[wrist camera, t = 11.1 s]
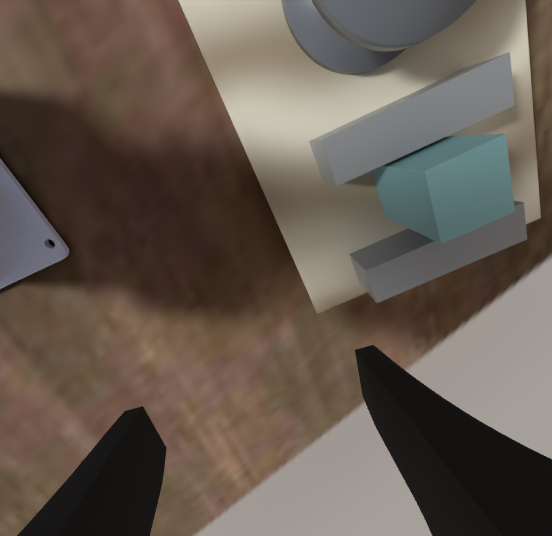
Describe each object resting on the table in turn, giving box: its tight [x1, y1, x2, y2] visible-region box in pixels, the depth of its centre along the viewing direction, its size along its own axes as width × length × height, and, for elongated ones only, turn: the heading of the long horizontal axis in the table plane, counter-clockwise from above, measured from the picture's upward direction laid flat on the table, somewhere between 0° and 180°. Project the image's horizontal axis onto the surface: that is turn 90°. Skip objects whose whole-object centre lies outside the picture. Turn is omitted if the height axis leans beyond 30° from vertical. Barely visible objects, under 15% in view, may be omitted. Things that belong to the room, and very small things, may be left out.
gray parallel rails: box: [309, 52, 527, 303], centre depth 15 cm, size 8×8×2 cm
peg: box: [372, 134, 515, 244], centre depth 13 cm, size 3×3×5 cm
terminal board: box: [179, 0, 541, 314], centre depth 14 cm, size 26×14×2 cm, turn 23°
